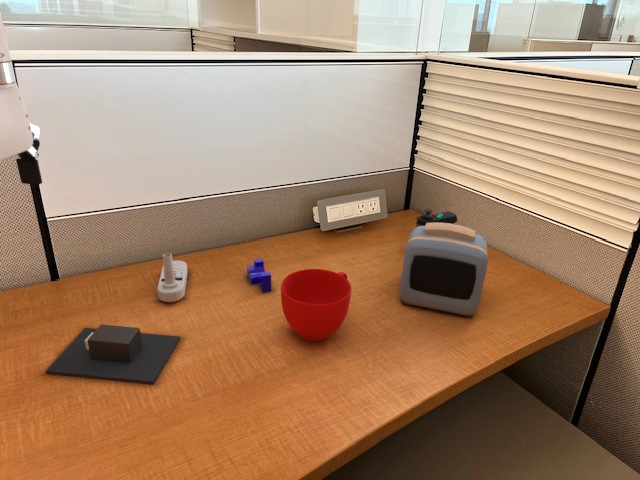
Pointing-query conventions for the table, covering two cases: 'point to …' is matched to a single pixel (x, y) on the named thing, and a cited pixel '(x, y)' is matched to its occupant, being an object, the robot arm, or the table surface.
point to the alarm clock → (444, 268)
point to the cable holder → (259, 275)
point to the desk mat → (138, 371)
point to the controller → (436, 218)
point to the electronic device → (172, 279)
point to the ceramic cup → (315, 302)
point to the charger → (114, 343)
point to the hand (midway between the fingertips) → (11, 193)
